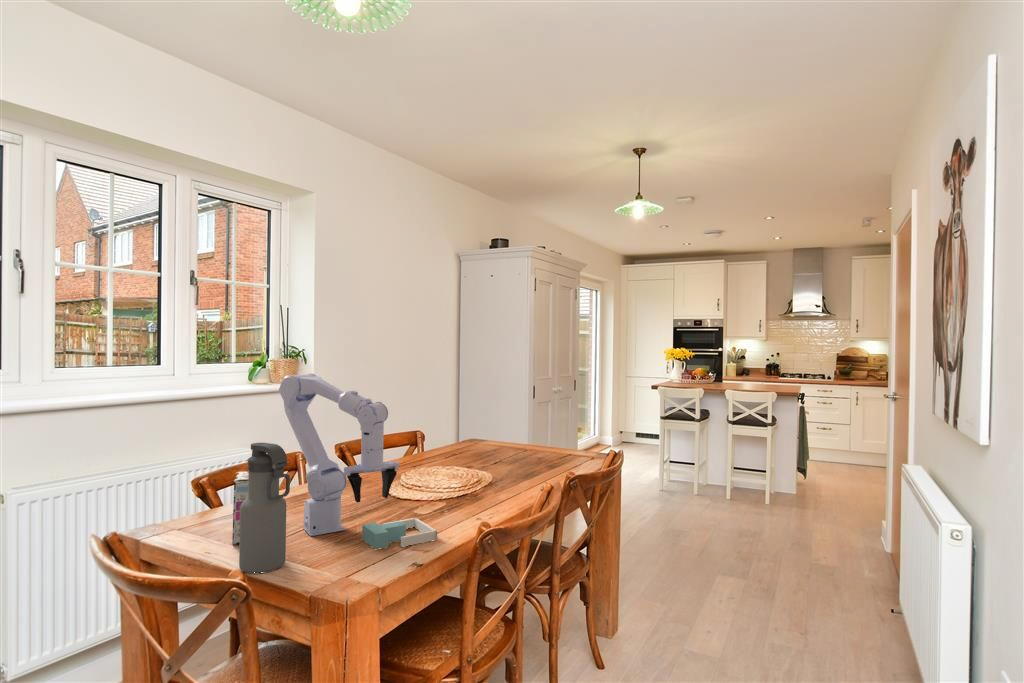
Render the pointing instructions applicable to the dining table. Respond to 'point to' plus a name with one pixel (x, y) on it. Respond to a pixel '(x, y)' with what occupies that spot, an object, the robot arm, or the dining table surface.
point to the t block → (383, 533)
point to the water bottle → (264, 511)
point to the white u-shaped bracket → (425, 536)
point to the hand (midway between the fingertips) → (371, 499)
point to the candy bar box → (239, 502)
